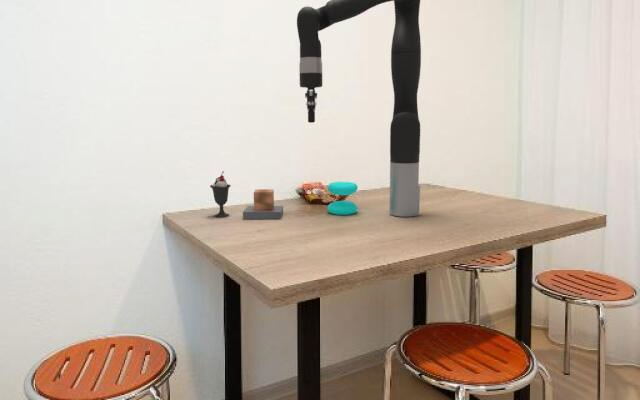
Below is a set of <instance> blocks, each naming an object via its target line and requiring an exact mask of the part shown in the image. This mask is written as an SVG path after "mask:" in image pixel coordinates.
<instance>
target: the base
mask: <svg viewBox="0 0 640 400" xmlns="http://www.w3.org/2000/svg"><path fill="white" fill-rule="evenodd" d="M283 216H284V205H274V209H273V211H254V205H247V206H246V207H245V209H244V210H243V212H242V220H244V221H246V220H247V221H250V220H252V221H253V220H259V221H260V220H263V221H264V220H268V221H269V220H282V218H283Z"/></svg>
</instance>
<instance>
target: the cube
mask: <svg viewBox="0 0 640 400" xmlns="http://www.w3.org/2000/svg"><path fill="white" fill-rule="evenodd" d="M274 190H275V189H274V188H273V189H272V188H267V189H266V188H265V189H263V188H262V189H260V188H259V189H257V188H256V189H255V190H254V191H253V206H254V211H273V209H274V206H275V195H274V193H275V191H274Z"/></svg>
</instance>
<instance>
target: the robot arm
mask: <svg viewBox="0 0 640 400" xmlns="http://www.w3.org/2000/svg"><path fill="white" fill-rule="evenodd" d="M388 2H393V3H394V14H395V15H394V16H395V17H394V19H395V20H394V21H395V23H394V29H393V34H392V40H391V49H390V69H391V83H392V88H393V89H392V90H393V94H394V95H393V98H394V99H393V100H394V101H393V112H392V120H391V122H390V132H389V134H390V135H389V138H390V139H389V164H390V165H389V206H388V207H389V208H388V209H389V211H388V213H389V215H390V216H395V217H405V218H406V217H407V218H409V217H416V216H420V204H421V203H420V202H421V201H420V200H421V198H420V197H421V195H420V194H421V186H420V185H419V180H420V179H419V178H420V177H419V176H420V175H419V174H420V152H421V149H420V147H421V122H420V120H419V119H420V118H419V110H418V108H419V107H418V91H419V84H420V78H421V69H422V67H421V65H422V44H421V31H420V24H419V20H420V17H419V16H420V7H421V6H420V5H421V0H329V1H327V2H326V3H325V5H323V6H321V7H319V8H313V6H307V5H306V6H304V7H302V8H300V10H299V11H298V12H297V17H296V27H297V29H296V30H297V33H298V34H297V35H298V40H299V64H298V65H299V67H298V69H299V71H298V72H299V87H300V88H304V89H306V88H307V89H306V92H305V93H304V94H305V95H304V98H305V105H306V110H307V122H308V123H315V122H316V112H315V111H316V107H317V99H318V92H316V90H315V89H317V88H322V87H323V60H322V44H321V43H322V42H321V41H320V38H319V32H320V31H323V30H325V29H327V28H329V27H331V26H333V25H335V24H338V23H340V22H344V21H346V20H349V19H352V18H355V17H357V16H359V15H361V14H363V13H365V12H366V11H368V10H370V9H371V8H372V9H373V8H375V7H376V6H379V5H381V4H384V3H388Z"/></svg>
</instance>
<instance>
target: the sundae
mask: <svg viewBox="0 0 640 400" xmlns="http://www.w3.org/2000/svg"><path fill="white" fill-rule="evenodd" d="M224 173H225V172H224V170H223V171H222V172H221V175H220V176H219V177H217V178H215V182H214V183H212V184H211V185H209V187H210V188H211V189H212V194H213V198H214V201H215V203H216V205H218V206H219V211H218V213H215V214H214V217H215V218H226V217H229V216H230V214H229V213H226V212H225V210H224V205H225V204H227V202H228V198H229V190H230V188H231V185H230V184H228V183H227V180H226V178H225V177H224V176H225V175H223V174H224Z"/></svg>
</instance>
